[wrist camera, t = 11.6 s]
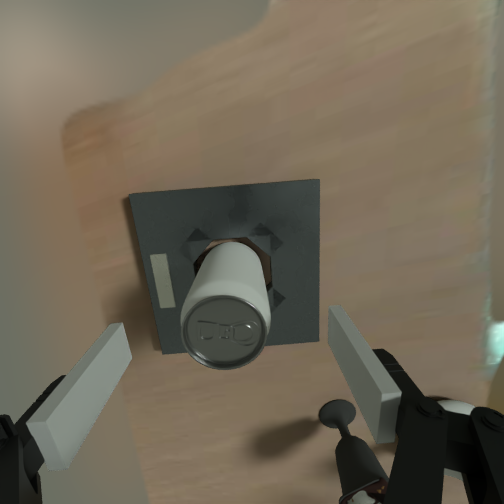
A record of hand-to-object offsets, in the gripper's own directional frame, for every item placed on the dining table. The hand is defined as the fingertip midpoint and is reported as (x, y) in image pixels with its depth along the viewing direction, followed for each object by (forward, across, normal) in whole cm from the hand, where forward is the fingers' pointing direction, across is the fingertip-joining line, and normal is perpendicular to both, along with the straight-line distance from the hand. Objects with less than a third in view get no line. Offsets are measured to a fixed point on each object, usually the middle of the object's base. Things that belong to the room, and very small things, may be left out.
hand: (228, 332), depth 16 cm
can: (+12, 0, -1) cm, 12 cm away
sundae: (+12, +12, -23) cm, 28 cm away
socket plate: (+12, 0, -1) cm, 12 cm away
